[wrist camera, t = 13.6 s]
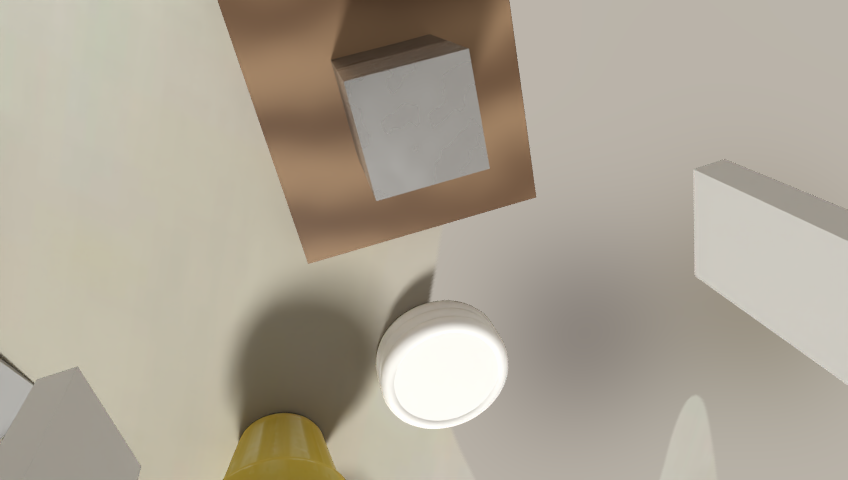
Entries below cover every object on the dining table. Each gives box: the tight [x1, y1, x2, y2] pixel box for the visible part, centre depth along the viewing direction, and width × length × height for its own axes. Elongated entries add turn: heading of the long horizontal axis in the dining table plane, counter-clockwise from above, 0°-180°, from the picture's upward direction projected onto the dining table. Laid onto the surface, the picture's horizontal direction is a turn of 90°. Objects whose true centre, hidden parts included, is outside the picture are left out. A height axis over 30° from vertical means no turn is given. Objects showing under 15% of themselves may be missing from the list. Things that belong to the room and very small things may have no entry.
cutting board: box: [218, 0, 536, 264], centre depth 36 cm, size 18×16×2 cm
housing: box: [331, 34, 490, 201], centre depth 32 cm, size 6×6×8 cm
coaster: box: [376, 301, 508, 429], centre depth 45 cm, size 10×10×4 cm
